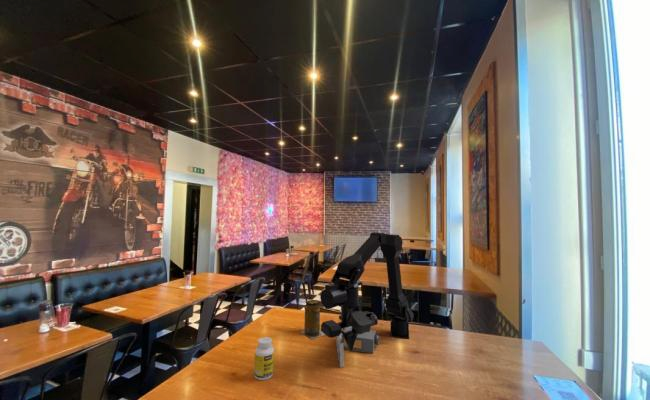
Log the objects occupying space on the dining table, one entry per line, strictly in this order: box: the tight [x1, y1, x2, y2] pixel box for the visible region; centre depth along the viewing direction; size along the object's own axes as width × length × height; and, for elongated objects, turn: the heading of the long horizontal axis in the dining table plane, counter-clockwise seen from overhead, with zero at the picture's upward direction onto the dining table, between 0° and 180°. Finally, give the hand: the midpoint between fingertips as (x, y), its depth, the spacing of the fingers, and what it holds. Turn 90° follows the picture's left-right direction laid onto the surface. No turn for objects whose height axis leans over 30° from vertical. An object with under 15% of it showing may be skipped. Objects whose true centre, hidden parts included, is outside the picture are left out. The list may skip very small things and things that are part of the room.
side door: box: [336, 334, 345, 368], centre depth 86 cm, size 11×2×7 cm, turn 3°
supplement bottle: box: [253, 336, 275, 381], centre depth 77 cm, size 5×5×10 cm
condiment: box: [299, 299, 327, 340], centre depth 105 cm, size 7×8×12 cm
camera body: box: [341, 329, 380, 354], centre depth 95 cm, size 14×9×7 cm
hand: (350, 350), depth 85 cm, fingers closed
